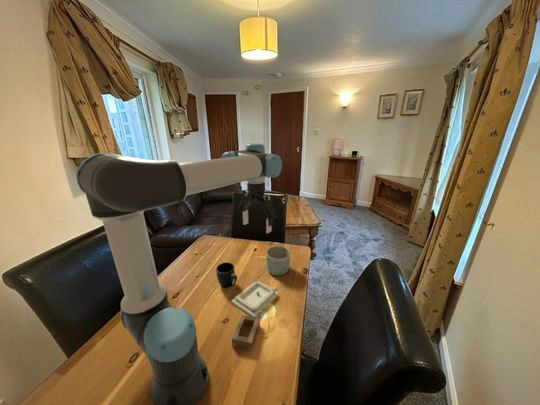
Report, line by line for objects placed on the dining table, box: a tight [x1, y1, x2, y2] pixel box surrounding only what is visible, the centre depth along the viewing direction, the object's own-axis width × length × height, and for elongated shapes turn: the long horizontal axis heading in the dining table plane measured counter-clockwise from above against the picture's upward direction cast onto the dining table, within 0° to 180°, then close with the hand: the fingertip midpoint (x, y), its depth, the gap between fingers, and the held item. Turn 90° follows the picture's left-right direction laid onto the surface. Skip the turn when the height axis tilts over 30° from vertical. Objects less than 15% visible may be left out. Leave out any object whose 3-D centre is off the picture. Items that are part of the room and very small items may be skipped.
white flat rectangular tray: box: [231, 280, 279, 318], centre depth 93 cm, size 16×13×3 cm
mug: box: [215, 262, 238, 289], centre depth 99 cm, size 8×12×10 cm
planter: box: [265, 245, 292, 276], centre depth 110 cm, size 12×12×11 cm
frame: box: [231, 314, 261, 352], centre depth 76 cm, size 10×7×4 cm
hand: (256, 227), depth 97 cm, fingers open, 13 cm apart
